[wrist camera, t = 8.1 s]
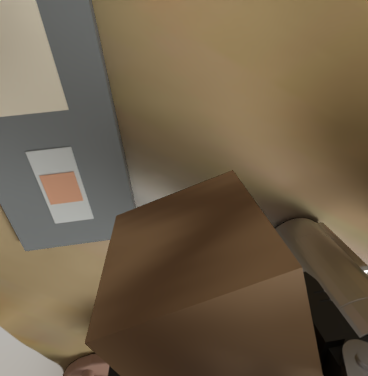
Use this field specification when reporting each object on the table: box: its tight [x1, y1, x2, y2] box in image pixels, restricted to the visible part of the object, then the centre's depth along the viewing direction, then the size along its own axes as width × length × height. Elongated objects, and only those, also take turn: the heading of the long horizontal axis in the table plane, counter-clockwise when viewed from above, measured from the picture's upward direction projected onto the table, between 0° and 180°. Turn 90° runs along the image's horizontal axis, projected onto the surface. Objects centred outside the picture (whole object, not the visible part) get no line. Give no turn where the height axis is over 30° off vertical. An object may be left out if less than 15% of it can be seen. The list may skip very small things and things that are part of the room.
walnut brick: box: [85, 170, 323, 376], centre depth 10 cm, size 5×10×5 cm, turn 21°
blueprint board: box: [0, 0, 136, 251], centre depth 25 cm, size 16×38×2 cm, turn 5°
